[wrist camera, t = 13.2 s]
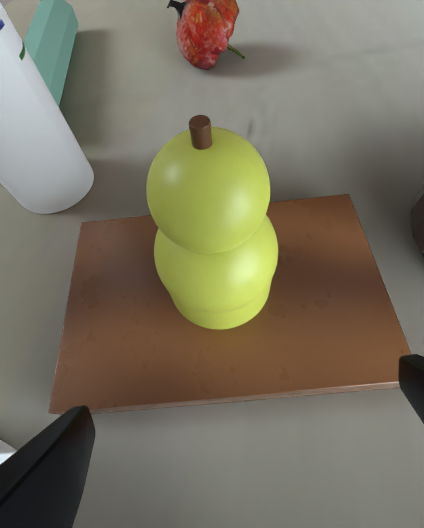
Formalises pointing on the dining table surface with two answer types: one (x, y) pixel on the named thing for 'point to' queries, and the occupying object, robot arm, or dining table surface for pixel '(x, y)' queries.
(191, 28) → the red rounded lumpy piece
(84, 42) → the dining table surface
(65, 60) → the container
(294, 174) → the dining table surface
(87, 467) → the robot arm
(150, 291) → the board
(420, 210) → the bowl
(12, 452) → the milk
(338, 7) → the dining table surface
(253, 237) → the pear
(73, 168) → the cylindrical container
